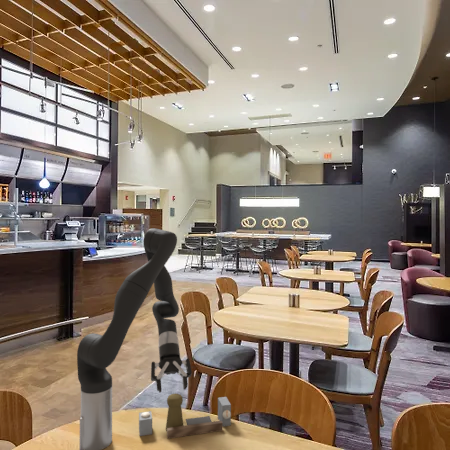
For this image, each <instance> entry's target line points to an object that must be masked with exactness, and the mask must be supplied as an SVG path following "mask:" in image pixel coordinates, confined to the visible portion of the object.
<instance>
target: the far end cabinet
mask: <svg viewBox="0 0 450 450" xmlns="http://www.w3.org/2000/svg"><path fill="white" fill-rule="evenodd" d="M231 411H232V404H231V402H230V401H229V399H228V397H227V396H221V397H217V418H218V421H222V423H223V427H228V426H229V427H230V426H232V417H231V416H232V412H231Z"/></svg>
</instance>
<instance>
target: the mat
mask: <svg viewBox="0 0 450 450" xmlns="http://www.w3.org/2000/svg"><path fill="white" fill-rule="evenodd" d="M207 422H213V420H212V419H211V417H210V415H206V416H199V417H198V416H197V417H192V418H186V419H185V424H186V425H193V424H200V423H207Z"/></svg>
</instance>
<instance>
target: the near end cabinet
mask: <svg viewBox="0 0 450 450" xmlns="http://www.w3.org/2000/svg"><path fill="white" fill-rule="evenodd" d="M152 415H153V413H152V410H150V411H142V412H138V433H139V434H138V435H139V437H141V436H149V435H153V416H152Z"/></svg>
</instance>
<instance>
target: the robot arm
mask: <svg viewBox="0 0 450 450" xmlns="http://www.w3.org/2000/svg"><path fill="white" fill-rule="evenodd" d="M177 245H178V236H177V234H176V233H174V232H172V231H169V230H164V229H159V228H154V227H152V228H149V229H148V230H146V232H145V233H144V236H143V247H144V249H143V250H144V252H145V255H146V258H147V262H146V263H145V264H142V266H140V267H138V268H137V269H136V270H134V271H132V272H131V273H129V274H128V275H127V276H126V277H125V279H124V280H123V282H122V283H121V285H120V286H119V288H118V290H117V291H116V294H115V298H114V307H113V313H112V318H111V321H110V322H109V325H108V327H107V329H106V330H105V332H103V334H98V333H89V334H87V335H85V336H83V338H82V339H81V340H80V342H79V344H78V346H77V351H76V352H77V354H76V358H77V359H76V365H77V378H78V382H79V384H80V417H79V450H104V449H105V448H108V447H109V446H110V445H111V444H112V443H113V376H112V375H111V374H110V373H109V371H108V370H107V368H108V367H109V366H111V365H112V364H113V363H114V361H115V359H116V358H117V356H118V354H119V352H120V350H121V348H122V346H123V342H124V340H125V338H126V336H127V334H128V331H129V330H130V328H131V325H132V324H133V322H134V319H135V318H136V317H137V314H138V312H139V310H140V308H141V307H142V305H143V303H144V301H145V300H146V298H147V296H148V295H149V292H150V291H151V289H152V287H154V288H153V289H154V295H155V298H156V300H157V301H155V302H154V303H153V305H152V307H151V308H152V309H151V310H152V314H153V317H154V319H155V322H156V324H157V329H158V330H157V331H158V352H159V353H158V354H159V355H158V356H159V362H155V361H151V365H150V381H152V382H155V383H156V391H157V392H158V393H162V378H163V377H164V376H165V375H166V376H167V375H171V374H172V375H176V374H177V375H179V376H180V377H181V378H182V386H183V391H185V390H186V389H187V388H188V385H189V384H188V378H190V377H191V376H192V373H193V371H192V367H191V362H190V358H186V359H183V360H182V358H181V351H180V344H179V338H178V331H177V323H176V322H175V320H174V319H171V318H175V317H177V316H178V315H179V312H180V308H179V304H178V302H177V300H176V297H175V295H174V289H173V281H172V276H171V274H170V272H169V271H168V269H167V267H166V266H165V265H166V264H167V262H168V261H169V260H170V259H171V256H172V255H173V253H174V251H175V249H176V246H177ZM182 365H183V366H184V367H185V369H186V372H185V370H184V368H182ZM158 367H159V369H160V371H159V373H158V374H157V375H156V370H158V369H157V368H158Z"/></svg>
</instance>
